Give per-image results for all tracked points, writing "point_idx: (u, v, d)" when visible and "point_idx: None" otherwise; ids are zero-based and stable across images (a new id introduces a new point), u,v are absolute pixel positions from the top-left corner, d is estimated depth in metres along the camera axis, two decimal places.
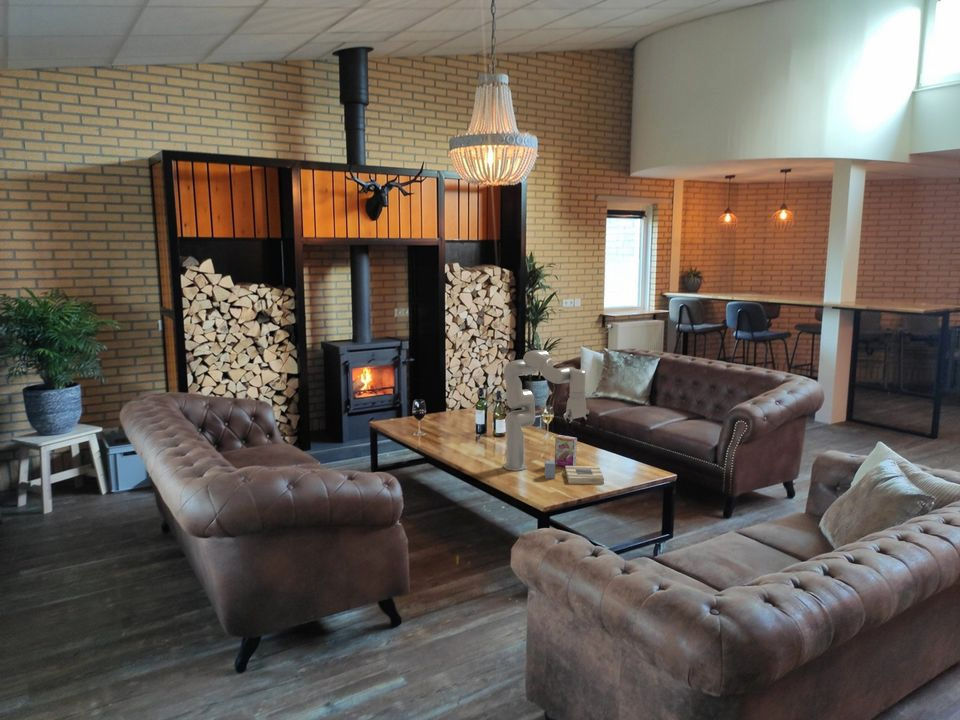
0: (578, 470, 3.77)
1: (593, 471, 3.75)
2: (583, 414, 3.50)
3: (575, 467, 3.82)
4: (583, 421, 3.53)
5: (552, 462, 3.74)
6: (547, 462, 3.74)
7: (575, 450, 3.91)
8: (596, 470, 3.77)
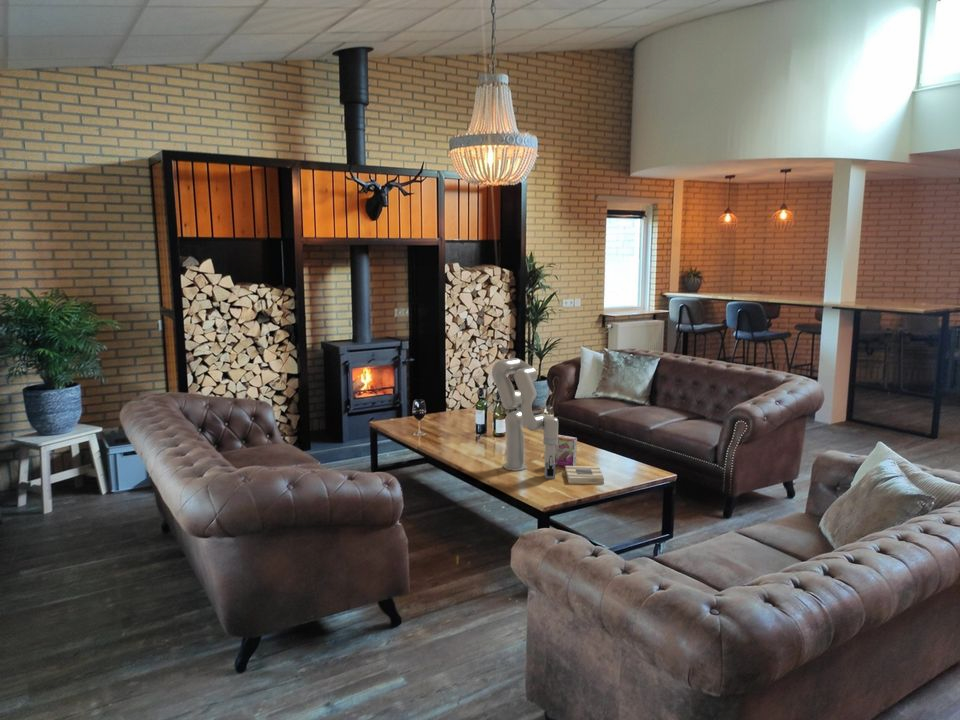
0: (578, 470, 3.77)
1: (593, 471, 3.75)
2: None
3: (575, 467, 3.82)
4: None
5: None
6: None
7: (575, 450, 3.91)
8: (596, 470, 3.77)
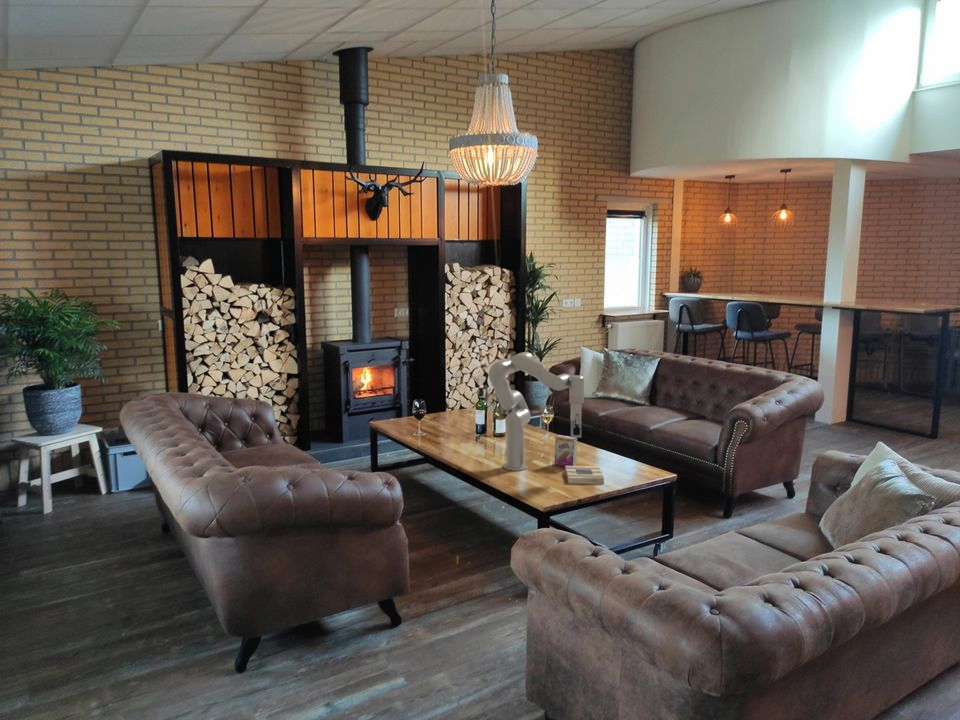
0: (578, 470, 3.77)
1: (593, 471, 3.75)
2: None
3: (575, 467, 3.82)
4: None
5: None
6: (573, 421, 3.70)
7: (575, 450, 3.91)
8: (596, 470, 3.77)
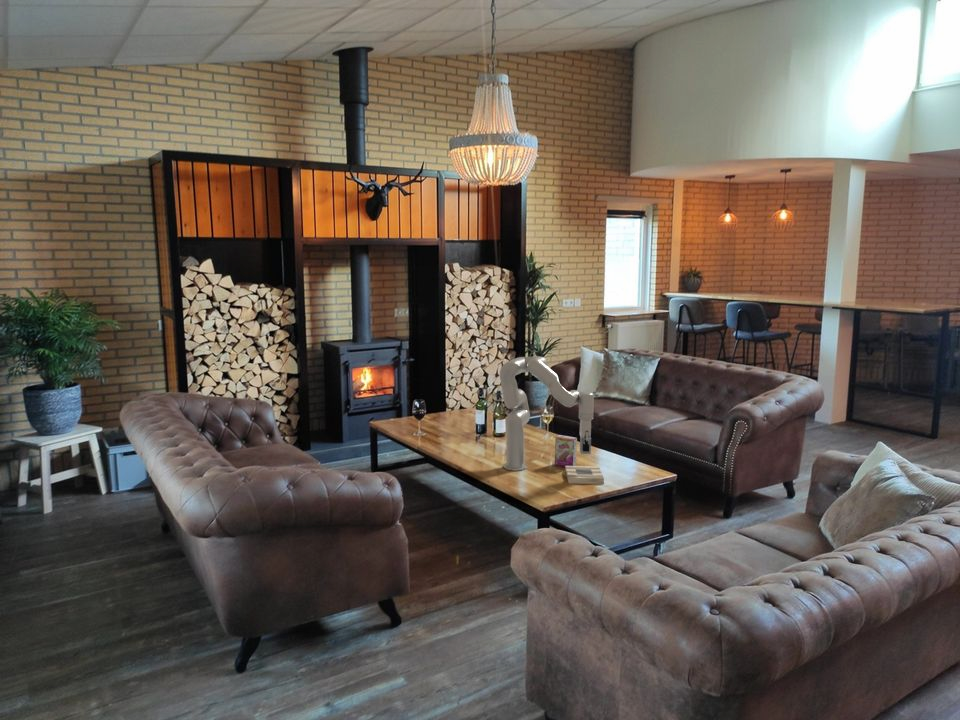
0: (578, 470, 3.77)
1: (593, 471, 3.75)
2: None
3: (575, 467, 3.82)
4: None
5: None
6: None
7: (575, 450, 3.91)
8: (596, 470, 3.77)
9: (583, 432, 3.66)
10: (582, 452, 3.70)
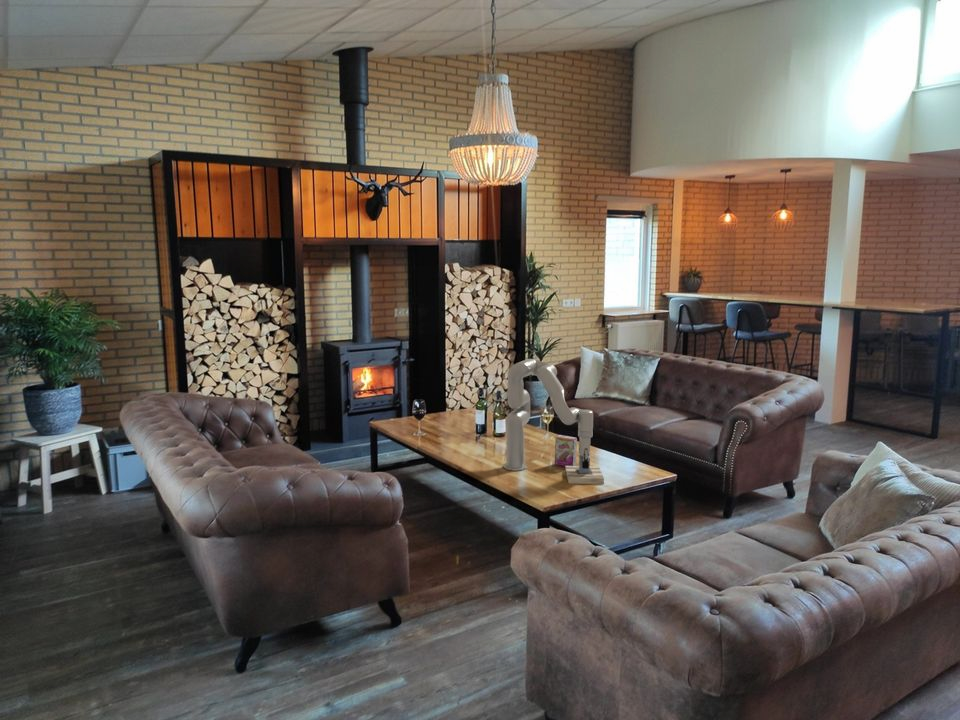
0: (578, 470, 3.77)
1: (593, 471, 3.75)
2: None
3: (575, 467, 3.82)
4: None
5: None
6: (581, 457, 3.73)
7: (575, 450, 3.91)
8: (596, 470, 3.77)
9: (582, 450, 3.67)
10: (581, 471, 3.72)
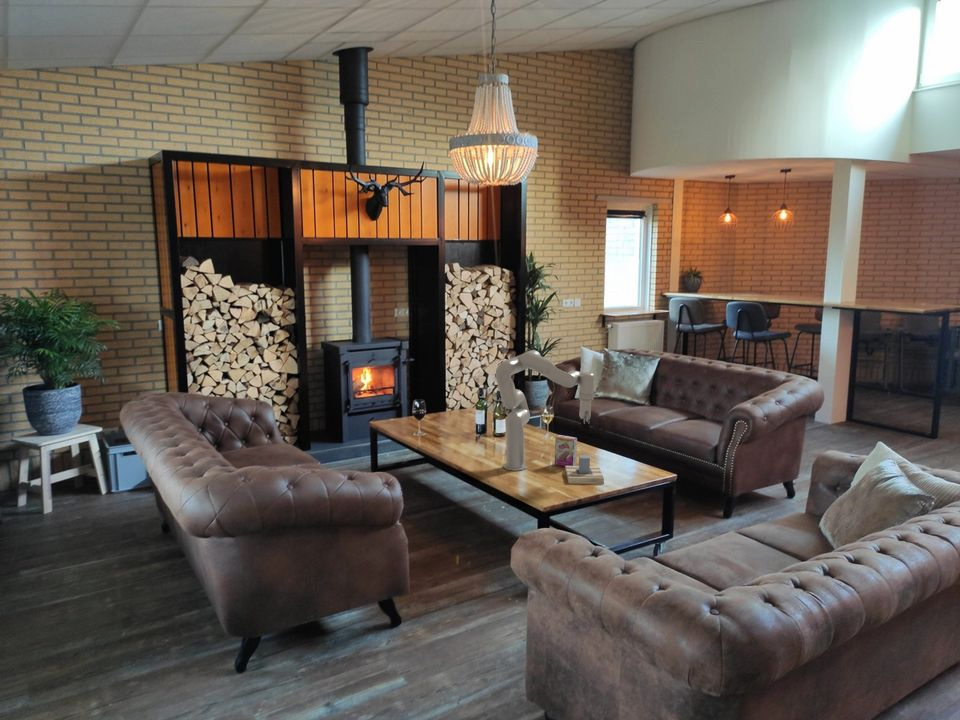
0: (578, 470, 3.77)
1: (593, 471, 3.75)
2: None
3: (575, 467, 3.82)
4: None
5: (586, 457, 3.73)
6: (581, 457, 3.73)
7: (575, 450, 3.91)
8: (596, 470, 3.77)
9: (583, 412, 3.64)
10: (581, 471, 3.72)
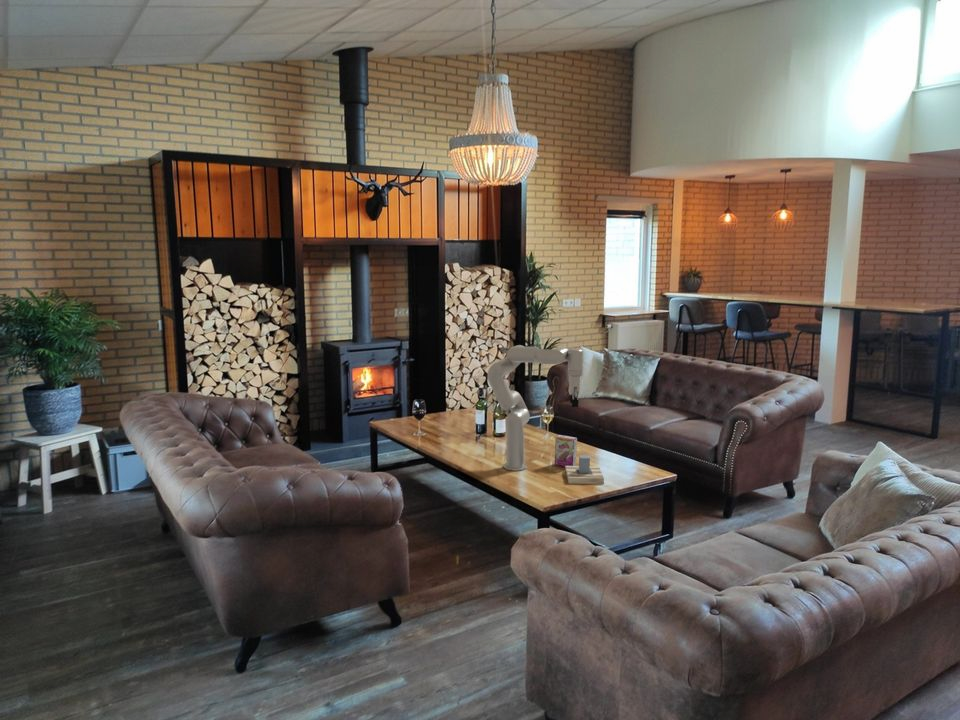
0: (578, 470, 3.77)
1: (593, 471, 3.75)
2: None
3: (575, 467, 3.82)
4: None
5: (586, 457, 3.73)
6: (581, 457, 3.73)
7: (575, 450, 3.91)
8: (596, 470, 3.77)
9: (572, 388, 3.66)
10: (581, 471, 3.72)
